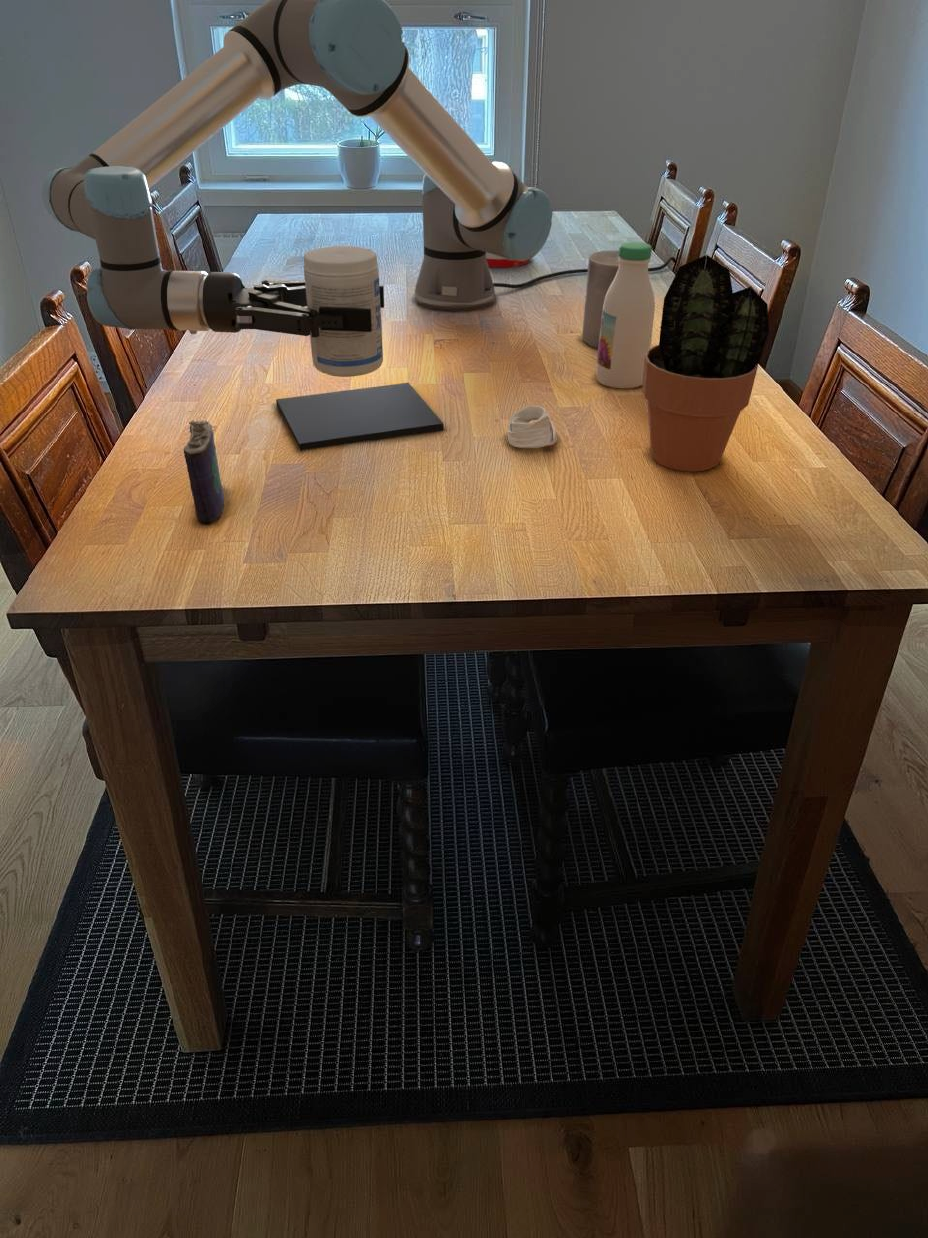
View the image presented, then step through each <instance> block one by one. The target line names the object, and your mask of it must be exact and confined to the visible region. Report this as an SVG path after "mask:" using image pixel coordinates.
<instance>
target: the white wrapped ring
mask: <svg viewBox="0 0 928 1238" xmlns="http://www.w3.org/2000/svg"><path fill="white" fill-rule="evenodd" d="M507 426H508V427H507V440H508V443H509V444H510V445H511V446H512V447H514V448H518V449H539V448H540V449H541V448H544V447H547V446H548V447H549V446H554V445H555V444H556V443H557V441H558V440H557V438H558V437H557V431H556V429H555V424H554V422H553V420H552V419H551V417H550V414H549V413H548V411H547V410H546V409H545V408H544V407H542V406H540V405H527V406H525V407H522V408H521V409H519V410H516V411H515V412H514V413H513V414H512V416H511V417H510V419H509V422H508V425H507Z"/></svg>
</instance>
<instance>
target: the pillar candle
mask: <svg viewBox="0 0 928 1238" xmlns="http://www.w3.org/2000/svg"><path fill="white" fill-rule="evenodd" d="M618 258H619V249H618V250H616V249H613V250H612V249H610V250H600V251H597V252H593V253H591V254H589V255H588V260H587V261H588V263H587V269H588V272H587V275H586V287H585V288H586V289H585V299H584V309H583V311H584V312H583V324H582V336H581V339H582V341H583V342H585V344H587V345H588V346H590V347H592V348H596V349H598V348H599V338H600V329H601V319H602V311H603V304H604V300H605V296H606V294H607V291H608V289H609V287H610V285H611V284H612V282H613V280H614V278H615V276H616V273H617V271H618V268H619V260H618Z"/></svg>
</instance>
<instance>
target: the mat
mask: <svg viewBox="0 0 928 1238" xmlns="http://www.w3.org/2000/svg"><path fill="white" fill-rule="evenodd" d="M275 402H276V407H277V409H278V411H279V413H280V414H281V417H282V419H283V421H284V422H285V425H286V426H287V428H288V430H289V432H290V434H291V436H292V438H293V440H294V442H295V444H296V446H297V448H298V450H299V451H301V452H302V451H309V450H314V449H315V450H316V449H321V448H327V447H328V448H330V447H335V446H341V445H350V444H355V443H362V442H363V443H364V442H368V441H369V442H371V441H376V440H383V439H390V438H398V437H405V436H412V435H418V434H425V433H432V432H433V433H434V432H440V431H444V422H443V421H442V419H440V418H439V416H438V415H437V414H436V413H435V412H434V411H433V410H432V409H431V407H430V406H429V405H428V404H427V403H426V401H425V400H424V399H423V398H422V396H421V395H419V393H418V392H417V390H415V389H414V387H413V386H412V385H411V384H410V383H409V382H402V383H395V384H387V385H379V386H378V385H377V386H371V387H363V388H354V389H347V390H339V391H332V392H330V391H329V392H323V393H315V394H307V395H300V396H291V397H284V398H276V400H275Z"/></svg>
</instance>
